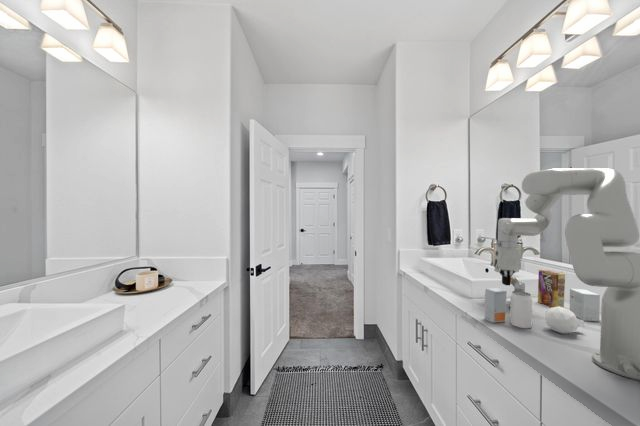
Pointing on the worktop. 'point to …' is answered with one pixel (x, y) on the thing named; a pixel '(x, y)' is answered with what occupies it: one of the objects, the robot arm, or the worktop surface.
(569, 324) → the white egg-shaped lump
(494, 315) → the skincare box
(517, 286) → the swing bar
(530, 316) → the can
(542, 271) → the candy box
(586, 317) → the small box
